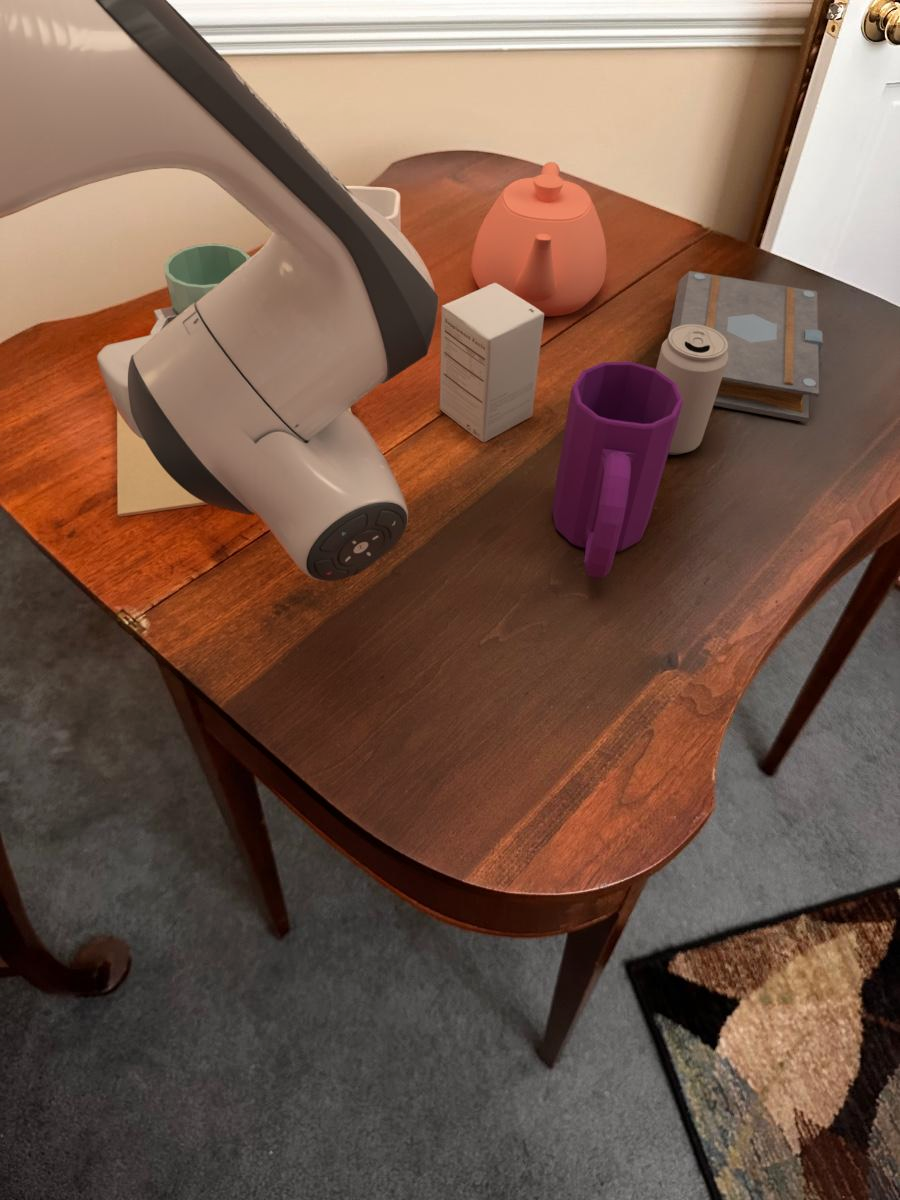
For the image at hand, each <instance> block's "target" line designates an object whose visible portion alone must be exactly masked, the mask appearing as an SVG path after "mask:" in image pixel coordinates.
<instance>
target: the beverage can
mask: <svg viewBox="0 0 900 1200" xmlns="http://www.w3.org/2000/svg"><path fill="white" fill-rule="evenodd" d="M727 348H728V342H727V340H726V338H725V337H724V336H723V335H722V334H721V333H719V332H718V331H716V330H714V329H712V328H710V327H706V326H702V325H696V324H687V325H681V326H678V327H675V328H674V329H672V330H671V331H670V330H669V333H668V336H667V338H666V339H665V340H664V341H663V342H662V344H661V347H660V351H659V354H658V359H657V363H656V367H655V369H657V370H658V371H659V372H661V373H662V374H664V375H665V376H666V377H668V378H669V379H671V380H672V381H673V382H675V383H676V385H677V388H678V390H679V393H680V395H681V398H682V400H683V404H682V408H681V411H680V414H679V418H678V421H677V425H676V428H675V432H674V435H673V439H672V442H671V446H670V449H669V453H668V455H672V456H674V455H675V456H677V455H682V454H685V453H690V452H692V451H694V450H696V449H697V448H698V447H699V446H700V445H701V443H702V441H703V438H704V435H705V432H706V429H707V426H708V422H709V419H710V416H711V413H712V411H713V408H714V405H713V404H714V401H715V398H716V395H717V392H718V389H719V386H720V383H721V380H722V377H723V373H724V370H725V367H726V364H727V361H728V353H727Z"/></svg>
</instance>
